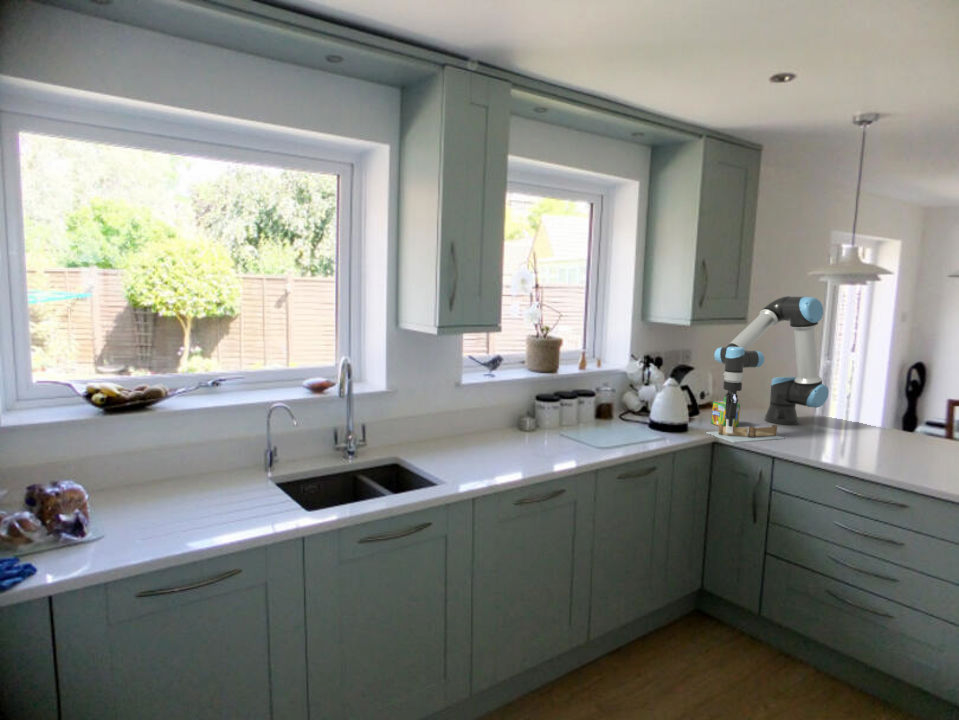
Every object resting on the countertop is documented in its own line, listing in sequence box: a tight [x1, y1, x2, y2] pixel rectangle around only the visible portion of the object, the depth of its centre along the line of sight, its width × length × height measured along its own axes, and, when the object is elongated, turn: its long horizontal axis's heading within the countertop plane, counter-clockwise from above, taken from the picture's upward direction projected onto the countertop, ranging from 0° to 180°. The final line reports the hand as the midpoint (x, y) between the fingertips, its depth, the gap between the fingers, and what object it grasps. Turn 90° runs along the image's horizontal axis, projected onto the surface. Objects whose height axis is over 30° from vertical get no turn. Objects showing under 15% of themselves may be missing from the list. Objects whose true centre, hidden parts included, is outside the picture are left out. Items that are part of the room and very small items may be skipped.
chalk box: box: [710, 395, 741, 427], centre depth 287 cm, size 9×9×15 cm
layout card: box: [705, 428, 785, 444], centre depth 268 cm, size 18×28×1 cm, turn 108°
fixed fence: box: [748, 424, 778, 438], centre depth 265 cm, size 2×15×5 cm, turn 108°
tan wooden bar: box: [718, 424, 749, 436], centre depth 266 cm, size 12×2×4 cm, turn 73°
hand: (729, 432), depth 265 cm, fingers closed
